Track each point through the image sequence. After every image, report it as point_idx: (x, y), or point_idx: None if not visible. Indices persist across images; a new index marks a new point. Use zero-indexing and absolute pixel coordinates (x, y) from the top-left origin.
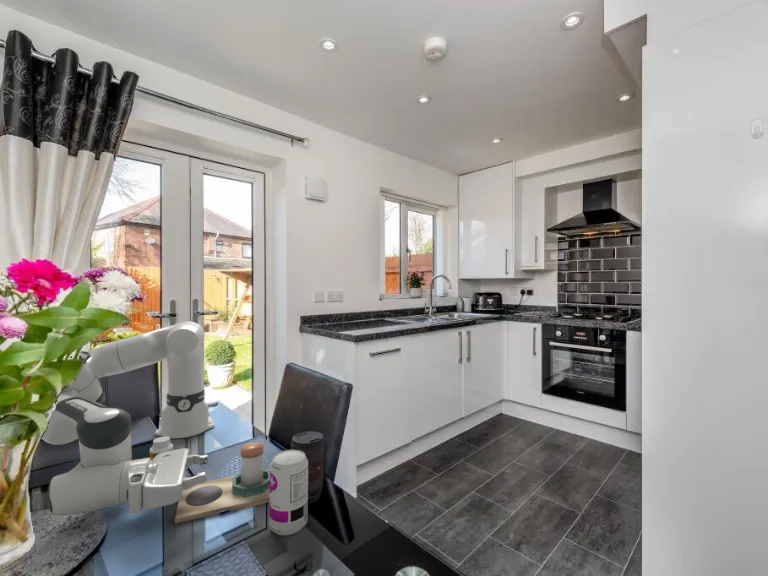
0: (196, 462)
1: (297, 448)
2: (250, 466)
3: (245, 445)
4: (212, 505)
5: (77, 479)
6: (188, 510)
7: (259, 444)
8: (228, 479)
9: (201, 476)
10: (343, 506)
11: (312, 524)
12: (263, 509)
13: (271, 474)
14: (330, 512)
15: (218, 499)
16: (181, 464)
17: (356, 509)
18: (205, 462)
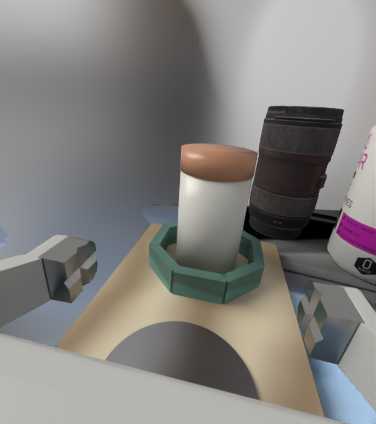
0: (17, 310)
1: (335, 123)
2: (246, 204)
3: (194, 150)
4: (277, 379)
5: None
6: None
7: (211, 145)
8: (119, 291)
9: (369, 309)
10: (316, 215)
11: None
12: (302, 278)
13: None
14: (330, 225)
15: (239, 348)
16: (127, 421)
17: (326, 211)
18: (90, 272)
